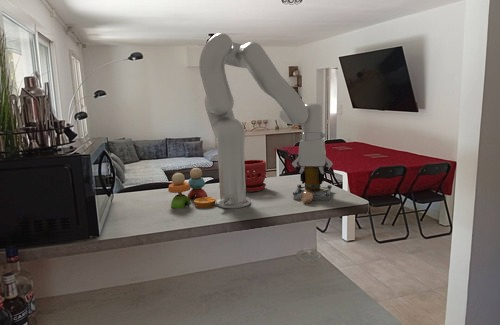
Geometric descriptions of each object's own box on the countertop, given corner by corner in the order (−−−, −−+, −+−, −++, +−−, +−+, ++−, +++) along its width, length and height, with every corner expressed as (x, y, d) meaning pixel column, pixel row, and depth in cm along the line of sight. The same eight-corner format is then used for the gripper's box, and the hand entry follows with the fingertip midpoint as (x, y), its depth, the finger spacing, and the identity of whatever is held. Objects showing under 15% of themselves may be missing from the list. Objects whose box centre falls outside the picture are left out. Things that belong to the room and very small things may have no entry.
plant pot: (268, 185, 168) (267, 158, 166) (265, 193, 155) (264, 164, 153) (238, 185, 170) (237, 158, 167) (233, 193, 157) (231, 164, 155)
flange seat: (328, 204, 136) (328, 193, 135) (290, 203, 140) (290, 192, 139) (331, 191, 153) (331, 181, 153) (297, 190, 157) (297, 181, 156)
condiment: (311, 186, 154) (311, 156, 152) (328, 189, 148) (328, 158, 145) (299, 189, 149) (298, 159, 147) (316, 193, 143) (316, 161, 141)
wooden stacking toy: (211, 210, 136) (209, 175, 133) (166, 208, 139) (163, 175, 137) (225, 196, 153) (223, 165, 151) (184, 195, 157) (182, 165, 154)
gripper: (335, 135, 146) (335, 181, 149) (290, 135, 150) (291, 180, 154) (334, 137, 139) (334, 186, 142) (287, 138, 143) (288, 184, 146)
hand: (312, 182), depth 148 cm, fingers closed on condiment, 6 cm apart
